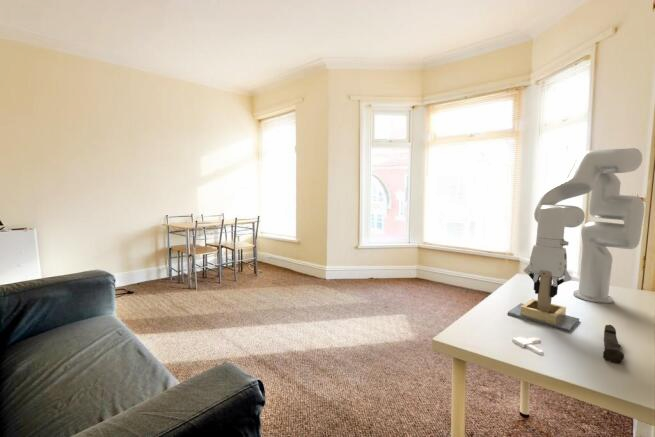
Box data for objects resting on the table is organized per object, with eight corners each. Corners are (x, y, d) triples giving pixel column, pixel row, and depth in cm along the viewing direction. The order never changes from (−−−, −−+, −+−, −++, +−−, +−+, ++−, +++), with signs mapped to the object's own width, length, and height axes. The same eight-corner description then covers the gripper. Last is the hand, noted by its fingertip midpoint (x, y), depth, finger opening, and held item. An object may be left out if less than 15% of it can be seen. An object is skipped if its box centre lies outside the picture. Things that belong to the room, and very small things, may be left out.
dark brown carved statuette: (622, 366, 82) (625, 349, 81) (602, 360, 85) (604, 344, 84) (620, 340, 96) (622, 325, 96) (602, 335, 99) (604, 321, 98)
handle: (551, 316, 107) (554, 273, 105) (530, 310, 112) (533, 268, 110) (556, 312, 110) (560, 270, 108) (536, 306, 115) (539, 266, 113)
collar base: (520, 305, 122) (521, 295, 121) (579, 321, 108) (580, 310, 108) (507, 314, 113) (508, 303, 113) (569, 332, 100) (570, 320, 99)
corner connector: (558, 353, 89) (558, 347, 89) (536, 357, 87) (536, 352, 87) (532, 339, 97) (533, 334, 97) (511, 343, 94) (512, 338, 94)
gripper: (582, 245, 104) (577, 298, 106) (525, 238, 117) (522, 286, 119) (577, 248, 99) (571, 304, 101) (518, 240, 112) (514, 290, 114)
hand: (544, 294), depth 110 cm, fingers closed on handle, 3 cm apart
